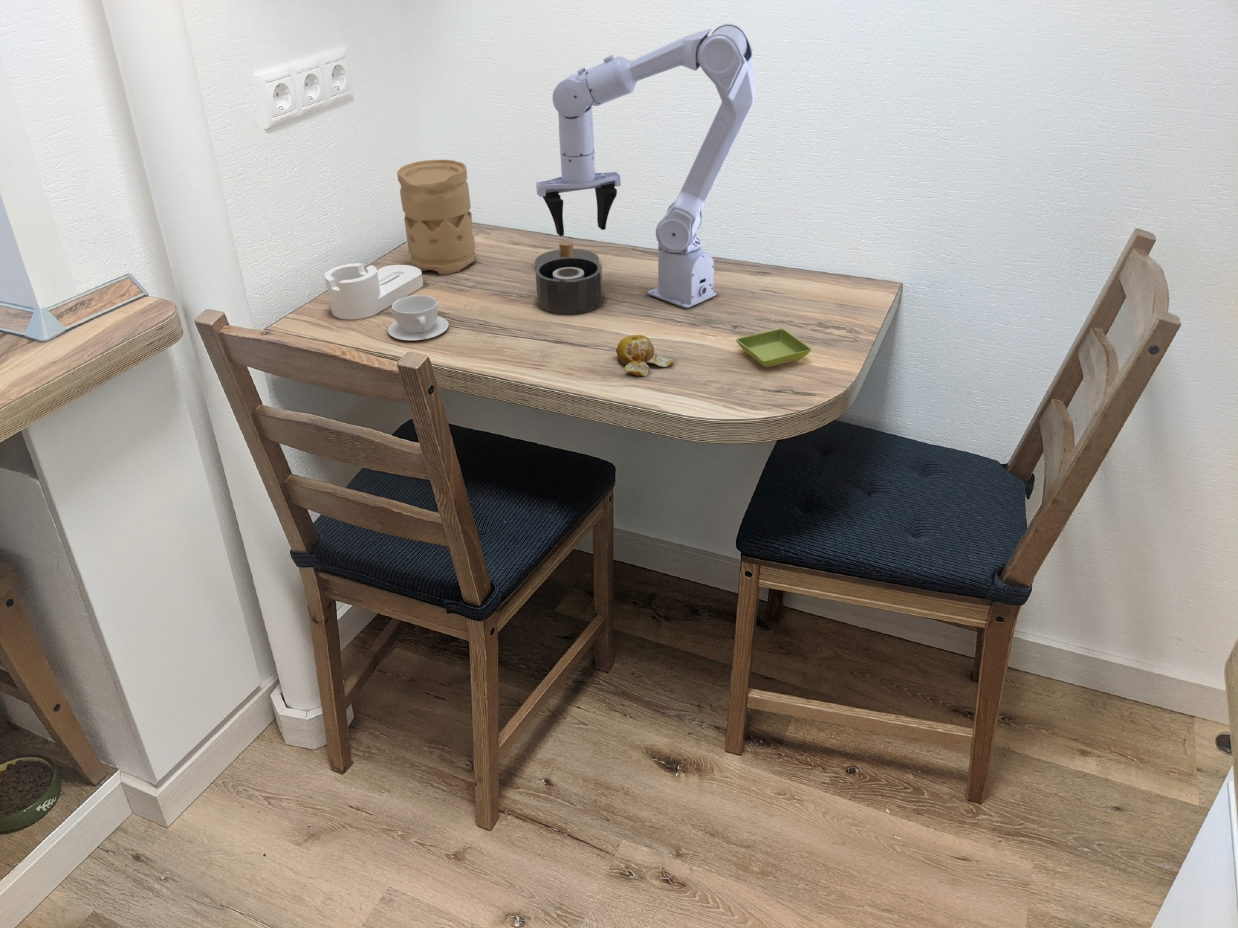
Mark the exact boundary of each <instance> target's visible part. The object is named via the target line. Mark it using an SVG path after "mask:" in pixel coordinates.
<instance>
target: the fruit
mask: <svg viewBox="0 0 1238 928" xmlns="http://www.w3.org/2000/svg"><path fill="white" fill-rule="evenodd" d="M655 351H656V350H655V347H654V344H653V343H652V341H651V340H650V339H649V338H648V337H647V336H646V335H643V334H634V335H633V334H632V335H629V336H626V337H623V338H622V339H621V340H620V341H619V342H618V344H617V346H616V349H615V353H616V355H617V358H618V361H619V363H620V364H622V365H624V372H626V373H627V374H633V375H634V376H637V377H640V376H641V377H647V375H648V374H649V368H650V366H649V365H648V364H647V363H651V364H655V365H657V366H658V367H662V368H666V367H669V366H671V365H672V364H673V363H674V362H675V360H674V359H673V358H667V357H664V356H661V355H657V354H655Z"/></svg>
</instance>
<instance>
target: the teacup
mask: <svg viewBox="0 0 1238 928" xmlns="http://www.w3.org/2000/svg"><path fill="white" fill-rule="evenodd" d="M438 306H439V303H438V299H436V298H435V297H434V296H431V295H427V294H414V295H407V296H406V297H403V298H400V299H398V300H396V301H395V302H394V303H393V304H392V305H391V308H392V312H393V316H394V319H395V321H393V322H392V323H391V324H390V325H389V326H388V328H387V333H388V334H389V336H391V337H393V338H395V339H397V340H401V341H421V340H428V339H432V338H434V337H437V336H440V335H441V334H443V333H444V332H445V331H447V330H448V329H449V322H448V320H447V319H446V318H444V317H442V316H438V312H439V310H438V309H439V308H438Z"/></svg>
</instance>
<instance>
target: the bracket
mask: <svg viewBox="0 0 1238 928" xmlns="http://www.w3.org/2000/svg"><path fill="white" fill-rule="evenodd" d="M422 273H423V271H421V270H420V269H418V268H416V267H414V266H412V265H410V264H409V265H408V264H391V265H385V266H383V267H381V268H379V269H377V267H376V266H374V265H372V264H371V265H368V266H367V267H365V266H364V263H359V262H358V263H347V264H341V265H337V266H335V267H333V268H330V269H328V270H327V271H326V272H325V273H324V280H325V285H326V291H327V296H328V300H329V305H330V309H331V314H332V316H334V317H335V318H337V319H341V320H349V321H350V320H362V319H365V318H366V319H367V318H369V317H373V316H375V315H377V314H378V313H381V312H382V311H383V310H385V309H387V308H389V307H391V306H392V304H393V303H394V302H395V301H396V300H398V299H400V298H403V297H407V296H410V295H411V294H412V293H414V292H415V291H418V290H419V289H421V288H422V287H424V281H423V274H422Z"/></svg>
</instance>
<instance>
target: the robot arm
mask: <svg viewBox="0 0 1238 928" xmlns="http://www.w3.org/2000/svg"><path fill="white" fill-rule="evenodd" d="M711 31H712V28H709V29H704V30H702V31H698V32H694V33H691V34H689V35H685V36H683V37H681V38H678V39H676V40H674V41H672V42H670V43H667V44H665V45H663V46H661V47H659V48H656V49H654V50H652V51H650V52H648V53H645V54H643V55H641V56H639V57H637V58H634V59H633V60H631V59H628V58H626V57H624V56H622V55H619V56H615V57H614V55H613V54H610V55H607V56H605V57H604V58H603V62H602V63H599V64H597V65H594V66H592V67H590V68H587V69H586V68H585V67H582V68H579V69H578V70H577V73H572V74H570V75H569V76H567V77H566V78H564V79H563V80H562V81H560V82H559V83H558V84H557V85H556V86H555V87H554V89H553V91H552V104H553V107H554V108H555V110H556V111H557V113H558V116H557V117H558V137H559V139H558V140H559V156H560V170H561V171H560V173H561V176H558V177H555V178H551V179H547V180H543V181H538V182H535V184H536V185H535V186H536V189H535V190H536V195H538V196H539V197H540V198H542V199H543V200H544V203H545V204H546V206H547V208H548V210H549V212H550V215H551V217H552V220H553V224H554V226H555V231H556V235H558V236H559V237H564V236H565V228H564V218H563V217H564V200H563V199H562V197H561V193H562V194H563V193H570V192H575V191H576V192H577V191H583V190H584V191H585V190H590V189H591V190H592V189H594V192H595V200H596V208H597V209H596V216H597V217H596V218H597V219H596V220H597V221H596V223H597V227H598V228H599V229H600V230H601V231H605V230H606V227H607V222H608V218H609V214H610V211H611V208H612V205H613V204H614V201H615V199H616V198H617V195H618V189H617V188H616V187H621V186H622V183H621V179H622V177H621V174H620V173H618V172H617V171H612V172H610V171H609V172H596V160H595V158H596V157H595V138H594V137H595V136H594V132H595V131H594V121H593V107H599V106H602V105H604V104H606V103H609V102H611V101H615V100H616V99H619V98H621V97H624V96H627V95H629V94H632V93H634V90H635V88H636V85H637V83H638V81H641V80H645V79H647V78H650V77H652V76H656V75H658V74H661V73H664V72H668V71H670V70H672V69H675V68H677V67H680V66H682V67H685V68H687V69H690V70H692V71H695V72H696V71H697V70H698V69H699V68H700V69H701V71H703V73H704V74H705V76H706V77H707V78H708V79H709V80H710V81H711V82H712V83H713V84H714V86H715V88H716V90H717V93H718V95H719V98H720V101H721V104H720V106H719V107H718V110H717V112H716V114H715V116H714V118H713V121H712V123H711V125H710V127H709V129H708V131H707V133H706V136H705V138H704V140H703V142H702V144H701V147H700V148H699V151H698V152H697V155H696V156H695V159H694V161H693V163H692V166H691V168H690V170H689V171H688V174H687V176H686V179H685V181H684V182H683V185H682V187H681V189H680V191H679V193H678V195H677V197H676V199H675V201H674V202H672V203H671V204H670V205H669V206H668V208H667V210H666V213H665V214H664V216H663V218H662V219H660V220H659V222H658V223H657V224H656V228H655V238H656V241H657V260H658V261H657V285H658V286H657V287H655V288H653V289H650V290H648V291H647V294H648V295H649V296H651V297H655V298H656V299H659V300H662V301H664V302H668V303H671V304H673V305H676V306H678V307H682V308H683V309H689V308H691V307H693V306H697V305H698V304H700V303H702V302H704V301H707V300H709V299H711V298H713V297H715V296H717V292H716V291H714V285H715V283H714V281H715V278H714V277H715V262H714V259H713V256H712V255H710V254H709V253H707V252H706V251H705V250H703V248H702V247H701V240H700V238H699V236H698V234H697V231H698V230H699V229H700V227H701V225H702V223H703V209H704V207H705V205H706V202H707V200H708V197H709V195H710V193H711V191H712V189H713V187H714V186H715V183H716V181H717V179H718V177H719V175H720V173H721V171H722V168H723V167H724V164H725V163H726V160H727V158H728V156H729V154H730V152H731V151H732V149H733V145H734V144H735V142H736V140H737V138H738V136H739V135H740V133H741V132H740V131H741V130H742V127H743V125H744V123H745V122H746V119H747V118H748V116H749V113H750V111H751V110H752V107H753V105H754V103H755V100H756V96H757V92H756V81H755V70H754V50H753V48H752V45H751V42H750V41H749V38H748V36H747V34H746V32H745V31H744V30H743V29H742V28H741V27H740V26H738V25H736V24H733V23H725V24H722V25H719V26H718V27H716V28H715V29H714V30H713V32H711ZM710 32H711V34H710Z"/></svg>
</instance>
